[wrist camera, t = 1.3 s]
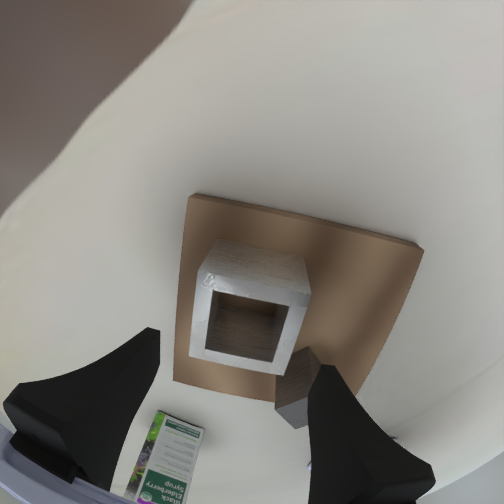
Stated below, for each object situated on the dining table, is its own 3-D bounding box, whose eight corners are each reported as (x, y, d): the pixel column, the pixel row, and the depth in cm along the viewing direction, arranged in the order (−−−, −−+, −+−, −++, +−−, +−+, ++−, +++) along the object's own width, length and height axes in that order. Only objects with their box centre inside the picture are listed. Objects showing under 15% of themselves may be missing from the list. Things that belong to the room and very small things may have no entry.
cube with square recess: (303, 256, 18) (311, 294, 14) (283, 327, 20) (283, 375, 16) (217, 238, 18) (197, 270, 14) (207, 311, 20) (188, 356, 16)
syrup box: (206, 428, 28) (178, 541, 14) (192, 448, 30) (166, 544, 16) (158, 409, 27) (114, 518, 14) (149, 431, 30) (112, 525, 16)
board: (415, 243, 19) (424, 250, 18) (344, 398, 25) (346, 409, 23) (194, 193, 19) (188, 197, 18) (177, 369, 25) (173, 380, 23)
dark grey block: (308, 345, 21) (313, 394, 16) (324, 367, 21) (331, 415, 17) (276, 360, 22) (274, 409, 17) (294, 381, 22) (295, 429, 18)
